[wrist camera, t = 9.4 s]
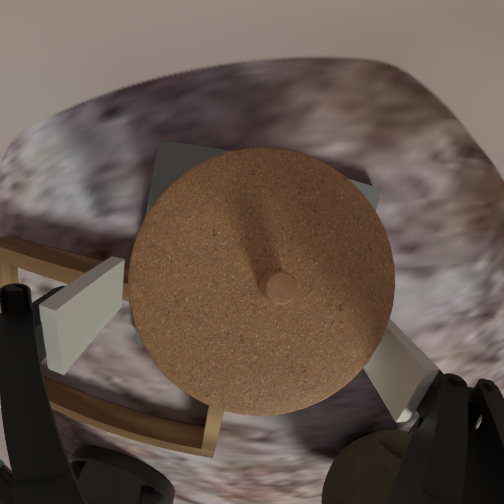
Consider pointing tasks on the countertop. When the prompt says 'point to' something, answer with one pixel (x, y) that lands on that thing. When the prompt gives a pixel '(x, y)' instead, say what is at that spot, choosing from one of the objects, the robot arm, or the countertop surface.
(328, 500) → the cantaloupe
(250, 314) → the lidded jar
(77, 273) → the pocket frame
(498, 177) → the countertop surface
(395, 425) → the countertop surface
